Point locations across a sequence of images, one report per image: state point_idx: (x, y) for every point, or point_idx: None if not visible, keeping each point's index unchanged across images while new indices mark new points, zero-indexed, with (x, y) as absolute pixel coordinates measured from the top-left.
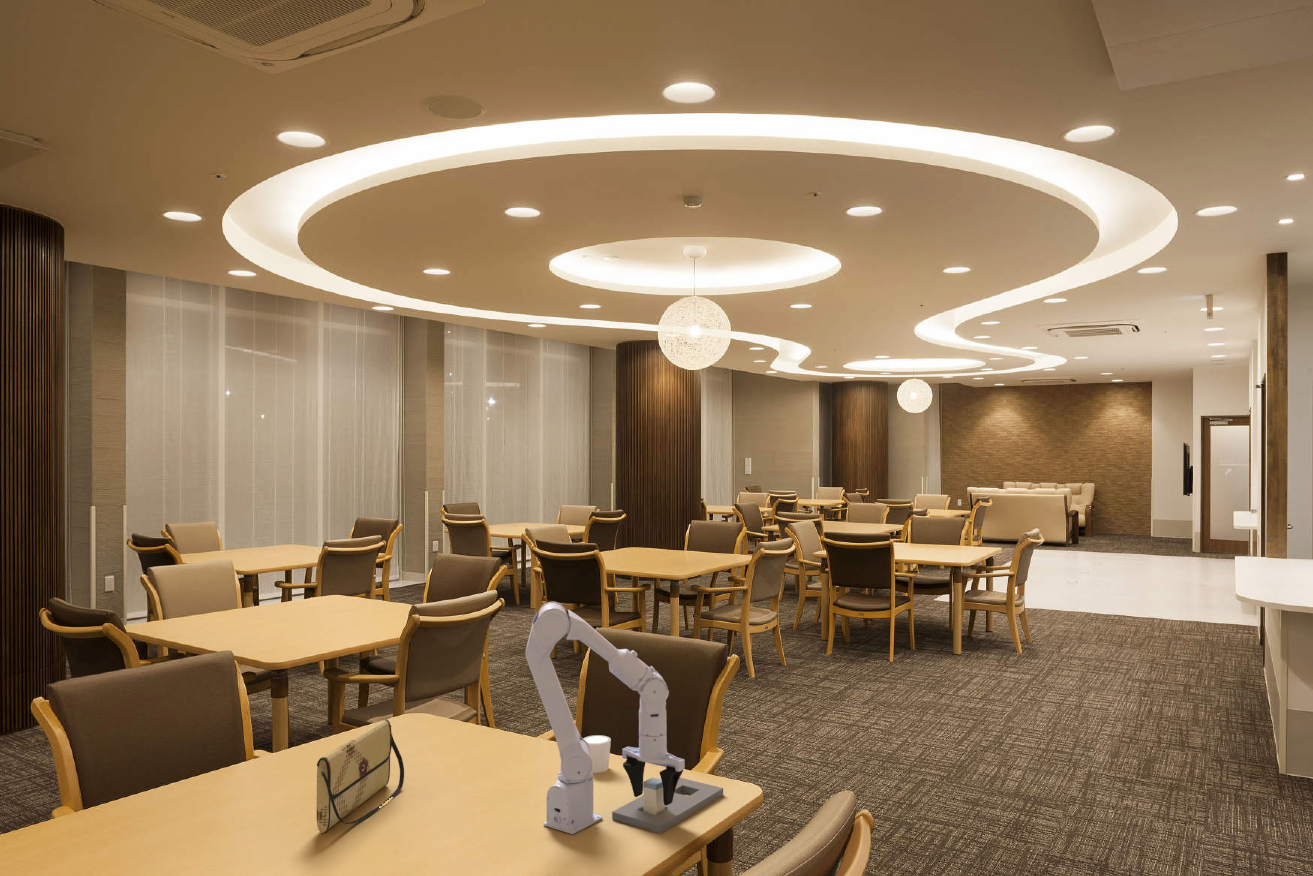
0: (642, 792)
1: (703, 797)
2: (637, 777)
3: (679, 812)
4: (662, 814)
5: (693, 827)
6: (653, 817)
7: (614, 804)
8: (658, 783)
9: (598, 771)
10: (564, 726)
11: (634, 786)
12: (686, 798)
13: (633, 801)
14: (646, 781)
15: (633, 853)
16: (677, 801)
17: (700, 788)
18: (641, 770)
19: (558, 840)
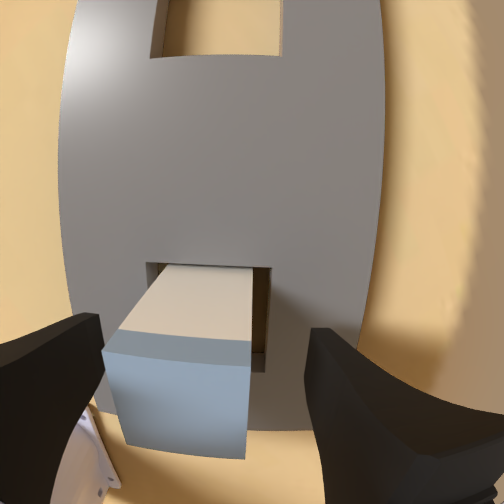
0: (94, 316)
1: (365, 35)
2: (51, 416)
3: (355, 288)
4: (290, 353)
5: (423, 302)
6: (270, 395)
7: (18, 278)
8: (241, 435)
9: None
10: None
11: (82, 411)
12: (290, 88)
13: (74, 293)
14: (135, 434)
15: (314, 494)
16: (267, 157)
17: None
18: (14, 400)
19: (122, 498)
